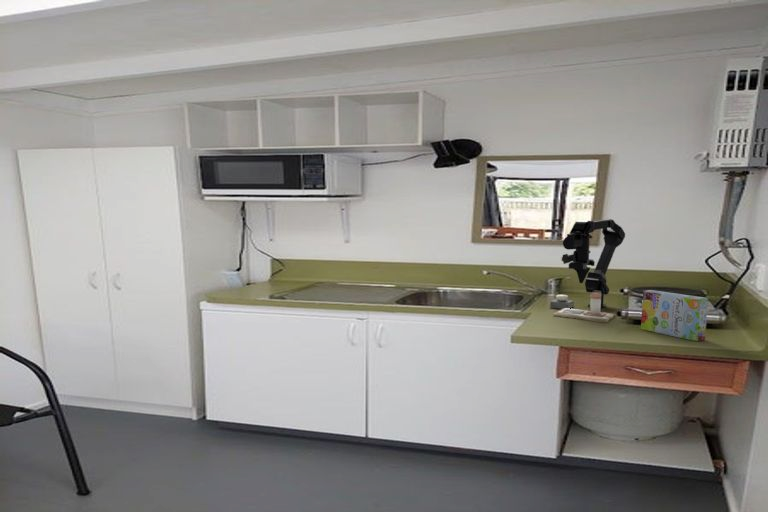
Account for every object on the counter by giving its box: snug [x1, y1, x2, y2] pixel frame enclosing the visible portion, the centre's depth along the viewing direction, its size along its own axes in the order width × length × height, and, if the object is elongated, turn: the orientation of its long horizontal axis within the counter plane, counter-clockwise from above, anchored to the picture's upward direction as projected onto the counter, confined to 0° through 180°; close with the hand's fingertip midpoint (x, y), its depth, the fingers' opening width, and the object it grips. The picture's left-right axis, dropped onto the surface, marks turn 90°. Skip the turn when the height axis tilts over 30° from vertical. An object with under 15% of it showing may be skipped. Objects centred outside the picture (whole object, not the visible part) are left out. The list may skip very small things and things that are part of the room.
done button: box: [555, 294, 569, 302], centre depth 233 cm, size 5×5×5 cm
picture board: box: [553, 308, 616, 323], centre depth 215 cm, size 15×21×1 cm
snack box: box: [640, 289, 709, 342], centre depth 183 cm, size 21×6×15 cm, turn 30°
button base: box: [549, 298, 575, 310], centre depth 233 cm, size 8×8×3 cm
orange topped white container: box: [589, 292, 602, 315], centre depth 212 cm, size 4×4×9 cm
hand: (581, 283), depth 228 cm, fingers closed
